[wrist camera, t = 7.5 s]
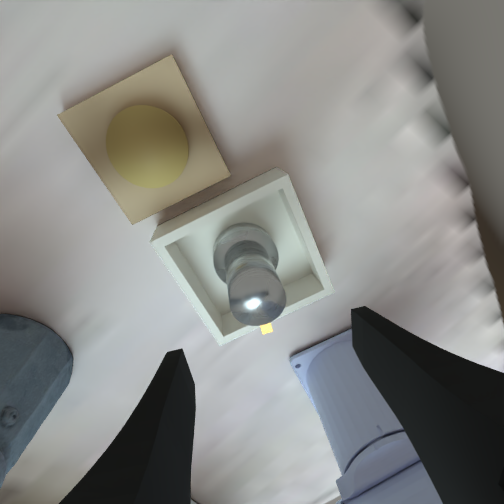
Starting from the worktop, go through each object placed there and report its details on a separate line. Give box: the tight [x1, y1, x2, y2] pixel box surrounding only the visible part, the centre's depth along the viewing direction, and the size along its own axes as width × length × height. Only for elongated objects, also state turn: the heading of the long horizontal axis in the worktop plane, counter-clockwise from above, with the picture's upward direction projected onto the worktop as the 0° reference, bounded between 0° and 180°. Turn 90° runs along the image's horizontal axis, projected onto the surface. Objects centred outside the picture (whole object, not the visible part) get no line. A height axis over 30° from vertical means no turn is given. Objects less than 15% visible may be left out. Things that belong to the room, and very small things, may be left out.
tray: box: [150, 167, 335, 346], centre depth 21 cm, size 9×9×3 cm
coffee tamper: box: [213, 222, 287, 334], centre depth 19 cm, size 4×4×6 cm
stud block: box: [57, 55, 231, 225], centre depth 18 cm, size 7×7×2 cm
